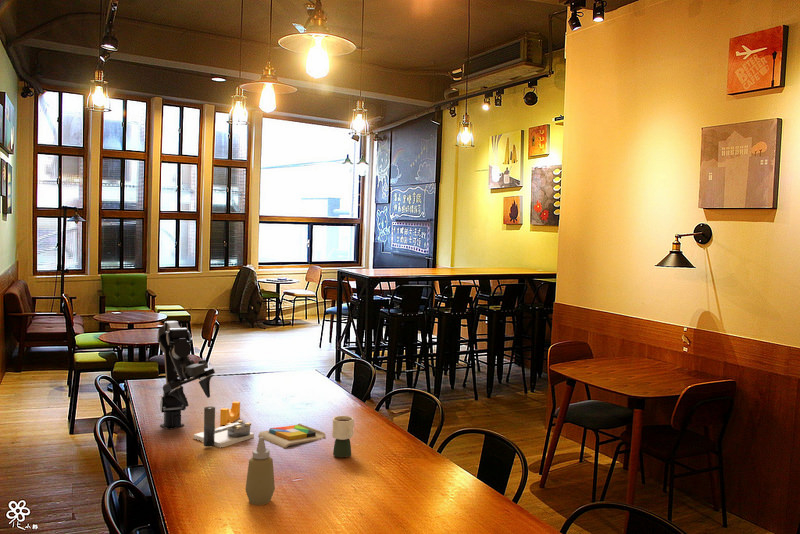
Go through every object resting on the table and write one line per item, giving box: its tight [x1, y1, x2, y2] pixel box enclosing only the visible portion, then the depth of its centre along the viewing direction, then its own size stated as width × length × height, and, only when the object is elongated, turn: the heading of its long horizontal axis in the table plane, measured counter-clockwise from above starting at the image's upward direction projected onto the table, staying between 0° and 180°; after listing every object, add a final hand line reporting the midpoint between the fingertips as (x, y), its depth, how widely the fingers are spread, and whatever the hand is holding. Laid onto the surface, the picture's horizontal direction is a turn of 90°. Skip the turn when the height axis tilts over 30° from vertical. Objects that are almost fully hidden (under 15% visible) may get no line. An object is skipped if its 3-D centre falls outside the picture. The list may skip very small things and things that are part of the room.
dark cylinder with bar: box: [203, 405, 252, 448], centre depth 221 cm, size 8×19×13 cm, turn 144°
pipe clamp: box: [219, 400, 241, 426], centre depth 246 cm, size 12×4×6 cm, turn 169°
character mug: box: [331, 415, 355, 459], centre depth 211 cm, size 11×7×13 cm, turn 33°
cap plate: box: [193, 426, 255, 449], centre depth 225 cm, size 15×15×2 cm
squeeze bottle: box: [245, 437, 276, 506], centre depth 173 cm, size 8×8×18 cm
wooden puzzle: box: [258, 423, 326, 449], centre depth 229 cm, size 18×19×4 cm
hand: (198, 401), depth 222 cm, fingers open, 9 cm apart
